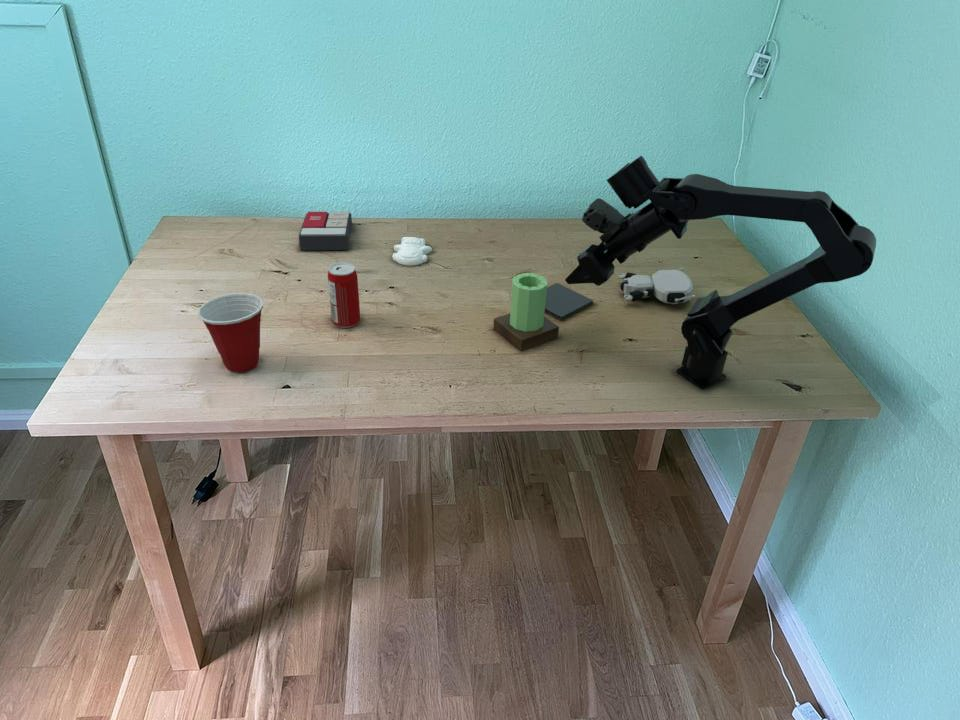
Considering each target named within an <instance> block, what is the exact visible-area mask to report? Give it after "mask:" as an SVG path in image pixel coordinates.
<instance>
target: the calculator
mask: <svg viewBox="0 0 960 720" xmlns="http://www.w3.org/2000/svg"><path fill="white" fill-rule="evenodd" d="M352 227H353V217H352V212H350V211H329V212H328V211H308V212H307V213H305V216H304V219H303V222H302V225H301V228H300V230H299V234H298V242H299V243H298V244H299V250H300V251H348V250H349V246H350V238H351V232H352Z"/></svg>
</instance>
